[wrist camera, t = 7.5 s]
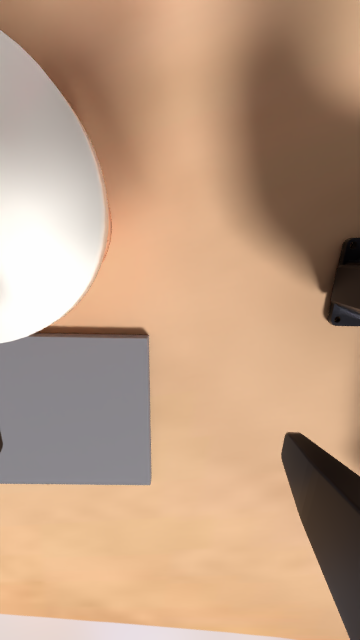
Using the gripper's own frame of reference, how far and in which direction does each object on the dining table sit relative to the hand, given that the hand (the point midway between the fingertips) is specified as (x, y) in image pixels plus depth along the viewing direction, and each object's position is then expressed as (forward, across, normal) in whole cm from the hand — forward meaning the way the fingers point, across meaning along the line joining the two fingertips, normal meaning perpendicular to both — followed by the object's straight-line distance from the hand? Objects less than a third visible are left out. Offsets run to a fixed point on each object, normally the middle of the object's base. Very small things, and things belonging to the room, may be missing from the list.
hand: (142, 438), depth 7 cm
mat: (+12, +9, +8) cm, 17 cm away
